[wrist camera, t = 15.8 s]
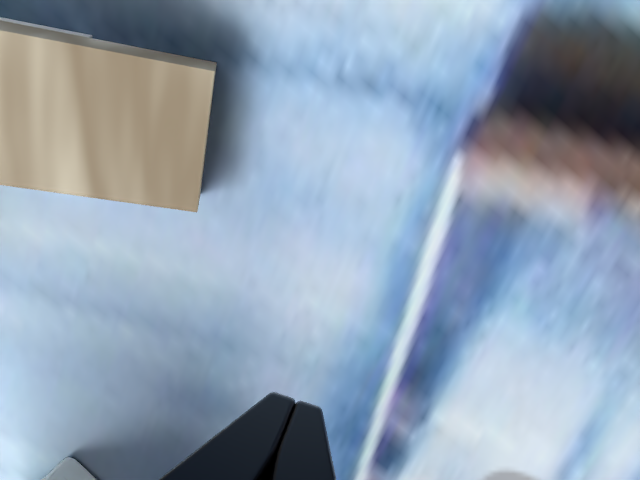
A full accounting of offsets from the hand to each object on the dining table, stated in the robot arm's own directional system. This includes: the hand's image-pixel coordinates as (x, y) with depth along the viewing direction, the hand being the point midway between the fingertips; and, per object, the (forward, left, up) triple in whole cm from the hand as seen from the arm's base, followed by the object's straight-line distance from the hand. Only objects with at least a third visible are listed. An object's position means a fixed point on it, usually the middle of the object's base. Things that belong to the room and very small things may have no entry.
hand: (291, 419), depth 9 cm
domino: (+5, -3, -11) cm, 13 cm away
